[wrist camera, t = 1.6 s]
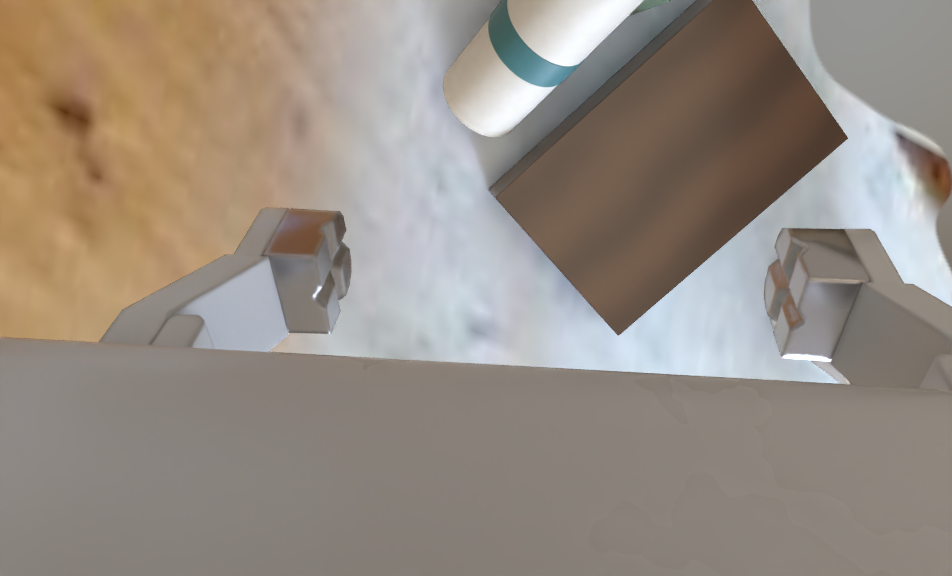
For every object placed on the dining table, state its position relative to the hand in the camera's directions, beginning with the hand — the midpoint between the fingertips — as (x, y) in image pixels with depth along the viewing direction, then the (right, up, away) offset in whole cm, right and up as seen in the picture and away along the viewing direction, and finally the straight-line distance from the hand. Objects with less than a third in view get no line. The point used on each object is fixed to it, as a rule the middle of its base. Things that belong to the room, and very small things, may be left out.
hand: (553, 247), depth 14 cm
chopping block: (+11, +8, +37) cm, 40 cm away
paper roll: (+1, +16, +34) cm, 38 cm away
